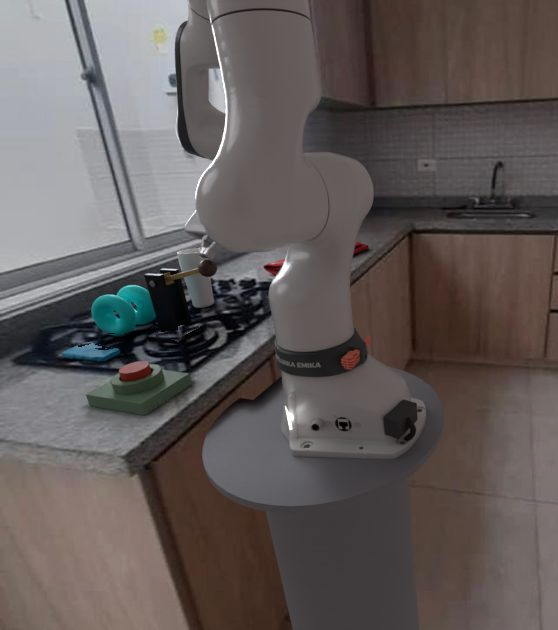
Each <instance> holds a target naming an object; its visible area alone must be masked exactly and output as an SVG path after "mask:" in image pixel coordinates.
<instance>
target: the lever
mask: <svg viewBox="0 0 558 630" xmlns="http://www.w3.org/2000/svg"><path fill="white" fill-rule="evenodd" d="M217 272H218V265H217V263H215V262H214V261H213V260H212V259H208V260H203V261H201V262H200V263H199V265H198V268H197V269H193V270H189V271H186V272H182V271H181V272H179V273H178V274H174V275H171V274H170V272H168V273H165V274H164V277H165V281H166V285H169V284H172V283H174V280H175V279H179V278H181V279H182V278H183V279H184V277H187V276H191V275H195V274H198V273H200V274H201V275H202V276H205V277H213V276H215V275H216V274H217Z"/></svg>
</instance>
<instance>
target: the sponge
mask: <svg viewBox="0 0 558 630" xmlns="http://www.w3.org/2000/svg"><path fill="white" fill-rule="evenodd" d="M86 343H91V344H89V345H85V346H82V347H78V345H76V346H75V345H74V346H73V347H71V348H69V349H67V350H64V351H63V352H61V355H62V357H63V358H65V359H70V360H84V361H90V362H91V361H92V362H106V361H108V360H110V359H112V358H115V357H117V356H119V355H120V354H121V353H122V351H121V350H120V349H119V348H117V347H112V348H113V349H109V350H98V349H95V348H102V346H98V345H95V344H96V343H93V342H86ZM105 349H107V348H105Z"/></svg>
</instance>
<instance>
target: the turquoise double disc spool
mask: <svg viewBox="0 0 558 630" xmlns="http://www.w3.org/2000/svg"><path fill="white" fill-rule="evenodd" d="M132 303H133V304H134V305H135V306H136V309H135V308H134V307H133V305H132ZM90 311H91V317H92V320H93V322H94V323H95V325H96V326H97V327H98V328H99V329H100V330H101V331H102V332H104V333H105V332H108V333H114V334H108V335H109V336H112V337H125V336H127V335H129V334H131V333H132V332H133V331H134V330H135V328H136V325H137V326H138V325H139V326H140V325H141V326H143V325H148V324H150V323H152V322H153V321H154V320H155V319H156V315H155V311H154V308H153V304H152V301H151V297H150V294H149V290H148V289H146V288H144V287H143V286H141V285H137V284H128V285H125V286H123V287H121V288H120V289H119V290H118V291H117V293H116V294H103V295H101V296H99V297H97V298H96V299H94V301H93V303H92V305H91V309H90ZM115 312H116V313H117V314H118V316H119V317H118V316H117V315H116V314H115ZM130 331H132V332H130ZM126 332H130V333H127V334H126V335H125V334H121V333H126Z"/></svg>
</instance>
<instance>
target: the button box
mask: <svg viewBox="0 0 558 630" xmlns="http://www.w3.org/2000/svg"><path fill="white" fill-rule="evenodd" d="M149 365H150V368H151V371H152V373H151V374H150V375H148V376H146V377H145V378H142V379H139V380H136V381H130V382H123V381H122V379H121V376H120V373H119V372H117V373H116V374H114V375H113V376H112V377H111V379H110V381H108V382H106V383H104V384H102V385H101V386H99V387H97V388H95V389H94V390H91V391H90V392H87V393H86V394H85V397H86V399H87V403H88V405H89V407H95V408H100V409H108V410H113V411H117V412H124V413H130V414H136V415H140V416H141V415H142V416H146V415H148V414H150V413H152V411H154V410H155V409H157V408H159V407H160V406H161V405H163V404H164V403H166V402H168V401H169V400H170V399H173V398H174V397H175V396H177V395H178V394H180V393H181V392H183V391H185V390H186V389H187V388H189V387H190V386H191V385H193V381H192V376H191V373H190V372H184V371H183V372H182V371H176V370H168V369H163V368H162V367H161V366H160V364H155V363H149Z"/></svg>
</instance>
